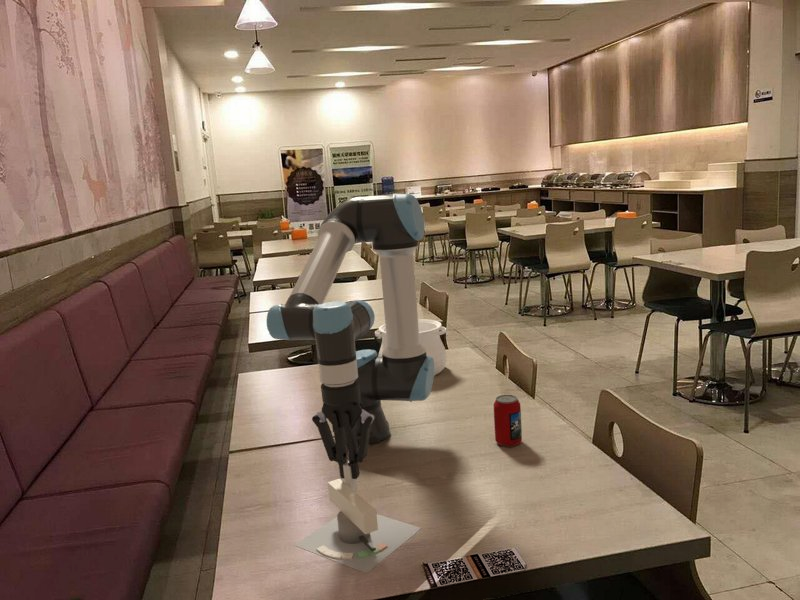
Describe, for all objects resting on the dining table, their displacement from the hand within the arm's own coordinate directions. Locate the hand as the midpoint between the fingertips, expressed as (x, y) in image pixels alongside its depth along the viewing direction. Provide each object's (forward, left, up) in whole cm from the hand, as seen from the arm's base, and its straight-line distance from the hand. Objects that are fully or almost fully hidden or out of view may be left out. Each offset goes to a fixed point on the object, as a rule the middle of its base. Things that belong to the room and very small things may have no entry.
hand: (351, 492), depth 133 cm
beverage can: (+9, +50, -7) cm, 51 cm away
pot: (-50, +91, -7) cm, 104 cm away
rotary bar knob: (+4, -5, -6) cm, 9 cm away
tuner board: (+5, -5, -7) cm, 10 cm away
